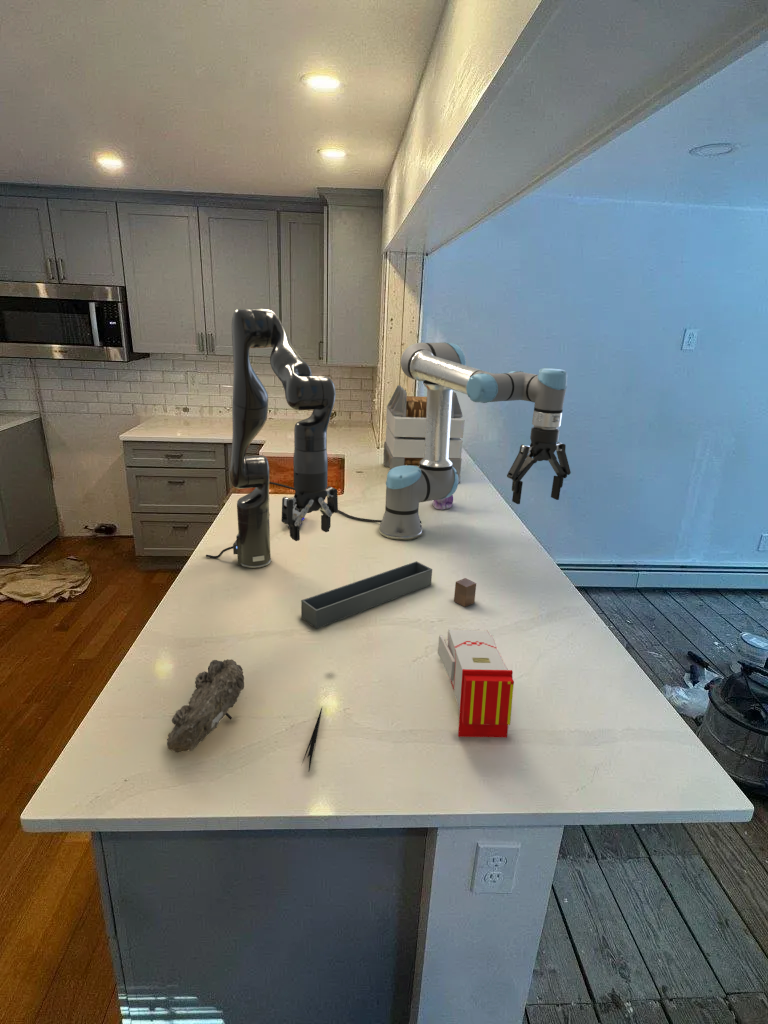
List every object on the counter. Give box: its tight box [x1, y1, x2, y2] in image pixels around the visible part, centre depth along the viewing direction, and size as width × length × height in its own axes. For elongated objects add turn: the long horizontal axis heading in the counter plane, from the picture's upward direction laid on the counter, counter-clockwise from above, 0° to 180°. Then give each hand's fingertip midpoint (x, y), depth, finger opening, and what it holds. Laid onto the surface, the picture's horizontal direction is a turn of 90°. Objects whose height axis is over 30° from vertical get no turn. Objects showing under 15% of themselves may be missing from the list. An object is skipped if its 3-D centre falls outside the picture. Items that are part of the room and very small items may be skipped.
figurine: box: [432, 494, 454, 510], centre depth 227 cm, size 9×10×15 cm
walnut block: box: [453, 577, 477, 608], centre depth 154 cm, size 4×4×6 cm
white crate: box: [383, 384, 465, 484], centre depth 268 cm, size 34×33×41 cm
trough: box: [300, 561, 433, 629], centre depth 153 cm, size 7×40×5 cm, turn 131°
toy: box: [437, 628, 515, 738], centre depth 117 cm, size 12×13×30 cm
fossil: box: [166, 658, 245, 754], centre depth 106 cm, size 22×10×15 cm
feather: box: [301, 673, 332, 771], centre depth 108 cm, size 2×28×2 cm
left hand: (310, 535), depth 131 cm, fingers open, 8 cm apart
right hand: (535, 500), depth 162 cm, fingers open, 13 cm apart
